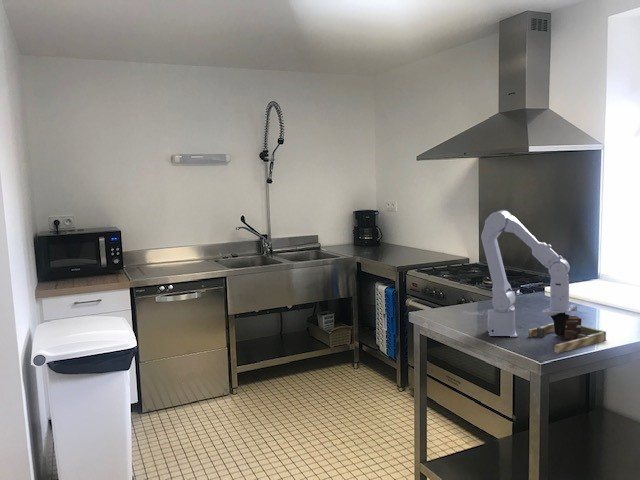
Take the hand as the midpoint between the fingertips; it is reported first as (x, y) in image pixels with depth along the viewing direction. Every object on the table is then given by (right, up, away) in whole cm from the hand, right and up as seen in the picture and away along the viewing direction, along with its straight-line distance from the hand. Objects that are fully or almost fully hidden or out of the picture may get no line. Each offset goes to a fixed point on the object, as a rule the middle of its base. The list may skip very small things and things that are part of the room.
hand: (559, 334), depth 178 cm
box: (+4, -2, +3) cm, 5 cm away
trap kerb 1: (-4, -2, +6) cm, 7 cm away
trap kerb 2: (+5, -2, -4) cm, 7 cm away
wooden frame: (0, -2, 0) cm, 2 cm away
